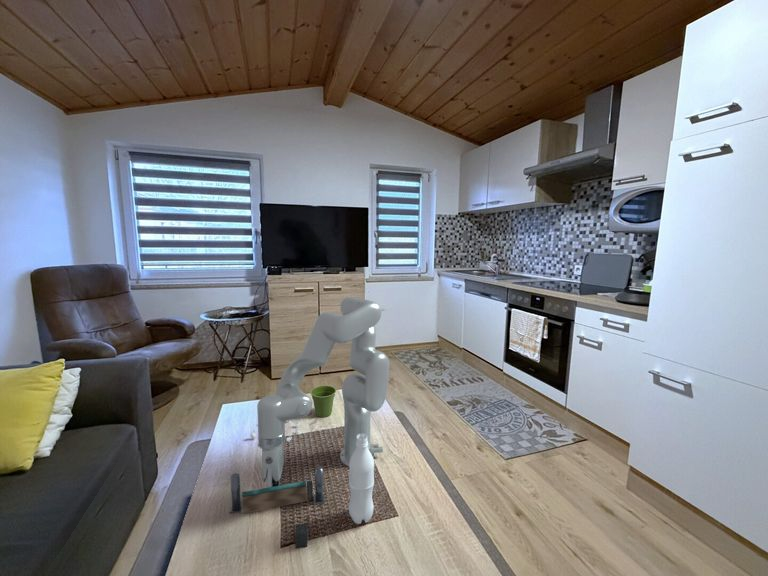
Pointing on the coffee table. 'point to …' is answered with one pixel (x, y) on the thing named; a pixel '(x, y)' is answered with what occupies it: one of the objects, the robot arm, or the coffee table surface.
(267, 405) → the robot arm
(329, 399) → the plant pot
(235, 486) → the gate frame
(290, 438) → the scattered white fragments
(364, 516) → the water bottle
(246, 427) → the coffee table surface
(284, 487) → the gate
